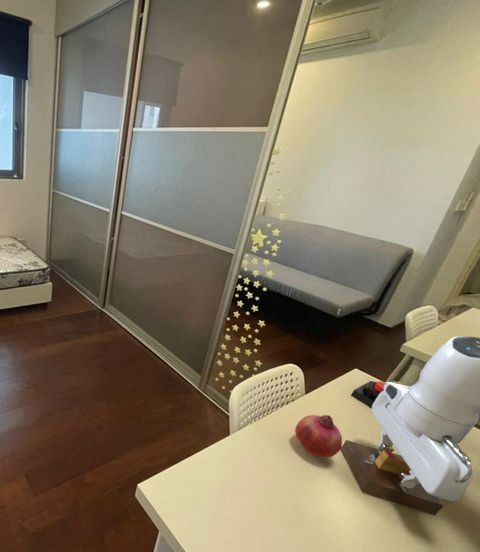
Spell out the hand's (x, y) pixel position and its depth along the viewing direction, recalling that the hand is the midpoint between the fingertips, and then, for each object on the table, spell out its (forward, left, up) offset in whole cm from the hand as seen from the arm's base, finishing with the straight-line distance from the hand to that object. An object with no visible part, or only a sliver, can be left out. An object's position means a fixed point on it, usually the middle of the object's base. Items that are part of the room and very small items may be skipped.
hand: (393, 466), depth 64 cm
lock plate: (0, 0, -4) cm, 4 cm away
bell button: (-11, -27, 0) cm, 30 cm away
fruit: (+13, -2, -4) cm, 14 cm away
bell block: (-11, -28, -4) cm, 30 cm away
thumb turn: (0, 0, -1) cm, 1 cm away
